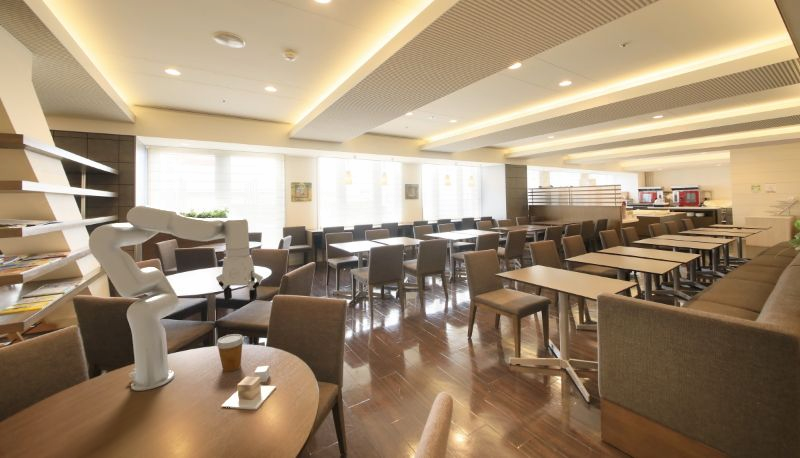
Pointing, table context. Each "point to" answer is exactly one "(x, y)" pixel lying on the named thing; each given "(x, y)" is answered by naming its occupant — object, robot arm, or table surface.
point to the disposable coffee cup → (230, 351)
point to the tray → (249, 404)
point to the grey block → (262, 373)
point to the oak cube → (249, 388)
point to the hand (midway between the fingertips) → (240, 299)
